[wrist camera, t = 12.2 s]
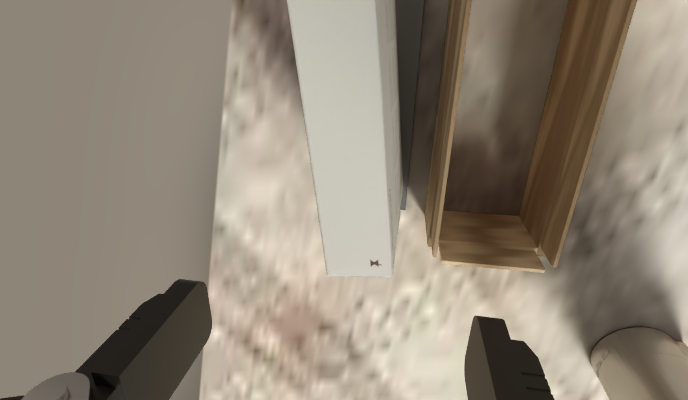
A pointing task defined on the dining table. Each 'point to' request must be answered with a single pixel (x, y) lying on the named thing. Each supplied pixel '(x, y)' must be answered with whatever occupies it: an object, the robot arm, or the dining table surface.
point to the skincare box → (352, 128)
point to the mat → (407, 74)
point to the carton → (550, 150)
